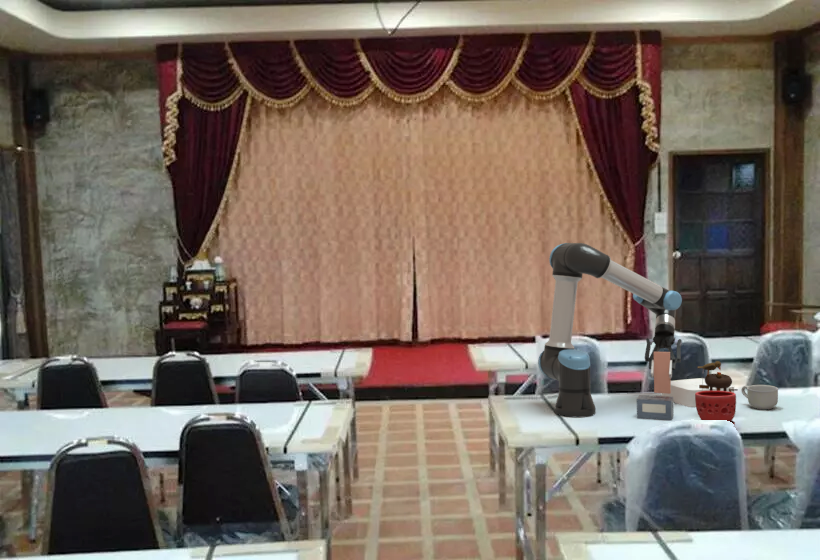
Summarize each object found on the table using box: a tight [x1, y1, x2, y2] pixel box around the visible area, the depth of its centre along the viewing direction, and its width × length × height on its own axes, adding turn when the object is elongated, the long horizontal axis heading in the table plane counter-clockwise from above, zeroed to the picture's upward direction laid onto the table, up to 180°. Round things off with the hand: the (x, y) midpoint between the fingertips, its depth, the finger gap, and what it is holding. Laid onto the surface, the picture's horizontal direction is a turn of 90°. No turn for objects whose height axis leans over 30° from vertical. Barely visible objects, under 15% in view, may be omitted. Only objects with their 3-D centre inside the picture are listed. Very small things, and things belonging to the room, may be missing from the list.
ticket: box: [653, 351, 672, 394], centre depth 304 cm, size 6×2×16 cm, turn 66°
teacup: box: [740, 384, 779, 410], centre depth 297 cm, size 14×11×8 cm
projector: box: [661, 377, 735, 408], centre depth 313 cm, size 21×22×7 cm
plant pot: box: [695, 391, 737, 426], centre depth 268 cm, size 13×13×12 cm
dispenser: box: [636, 394, 675, 421], centre depth 285 cm, size 12×8×7 cm
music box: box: [696, 360, 739, 407], centre depth 287 cm, size 15×11×20 cm
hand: (661, 375), depth 300 cm, fingers closed on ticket, 6 cm apart
